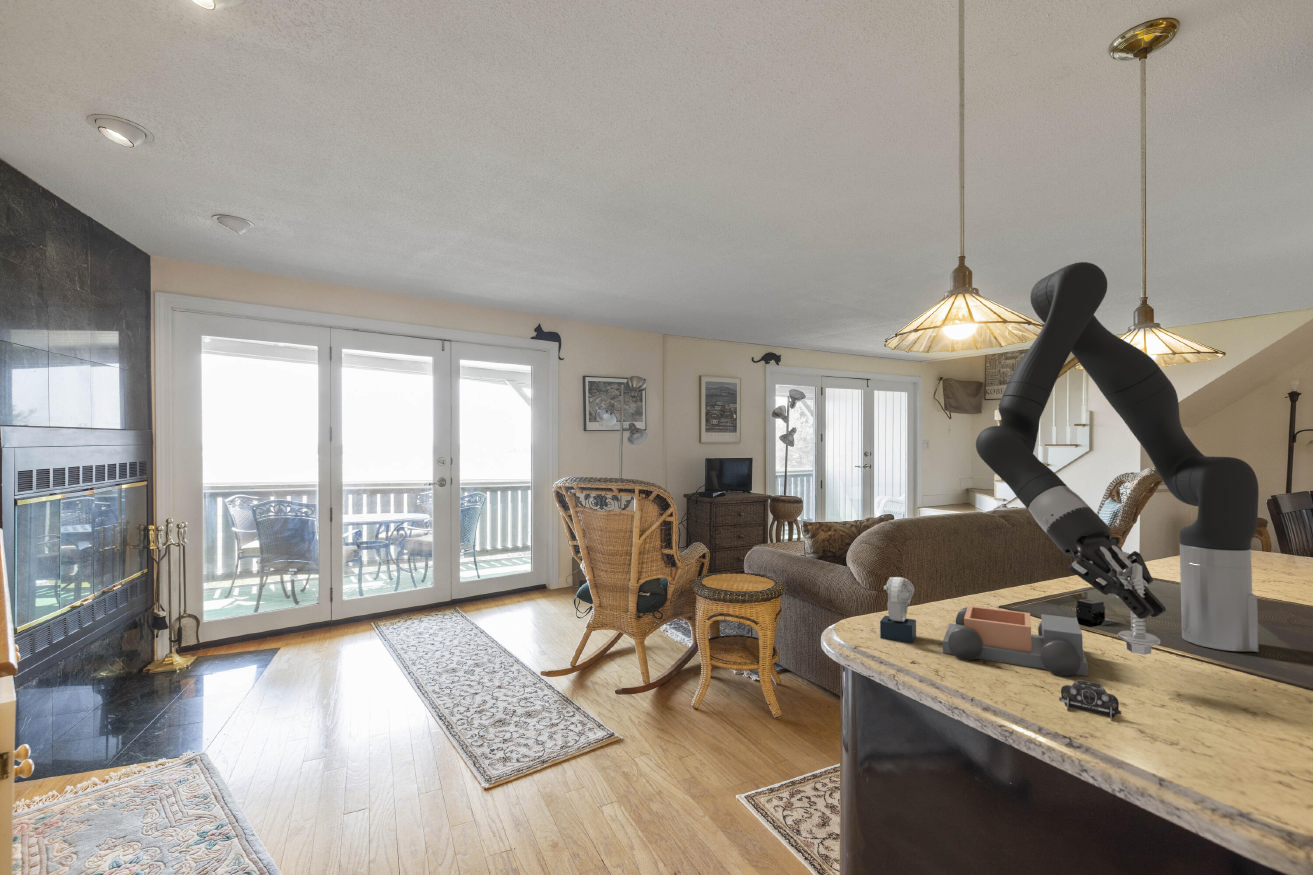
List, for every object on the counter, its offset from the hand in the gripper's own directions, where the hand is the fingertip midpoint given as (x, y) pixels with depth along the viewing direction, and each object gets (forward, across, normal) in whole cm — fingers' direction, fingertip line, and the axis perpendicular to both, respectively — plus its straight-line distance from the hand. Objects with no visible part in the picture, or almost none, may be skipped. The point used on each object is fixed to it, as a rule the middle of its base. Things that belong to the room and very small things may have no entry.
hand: (1153, 614), depth 83 cm
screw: (+3, 0, +6) cm, 6 cm away
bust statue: (-15, -18, +30) cm, 38 cm away
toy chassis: (-6, -5, +21) cm, 22 cm away
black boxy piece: (-11, +26, +28) cm, 40 cm away
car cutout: (+12, -13, +5) cm, 18 cm away
